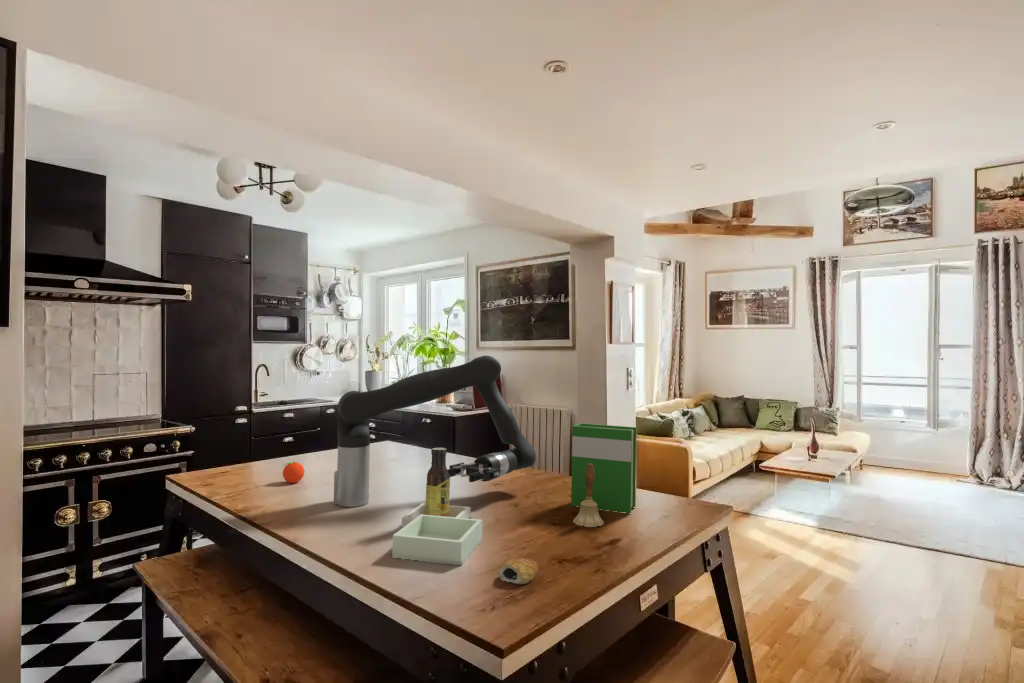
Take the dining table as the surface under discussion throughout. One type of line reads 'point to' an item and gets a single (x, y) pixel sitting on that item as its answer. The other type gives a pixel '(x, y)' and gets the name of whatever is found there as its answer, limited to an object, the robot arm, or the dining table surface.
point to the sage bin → (438, 539)
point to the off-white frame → (421, 509)
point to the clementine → (293, 472)
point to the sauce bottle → (438, 485)
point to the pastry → (518, 570)
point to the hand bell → (589, 504)
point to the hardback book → (605, 465)
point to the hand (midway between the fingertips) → (458, 476)
